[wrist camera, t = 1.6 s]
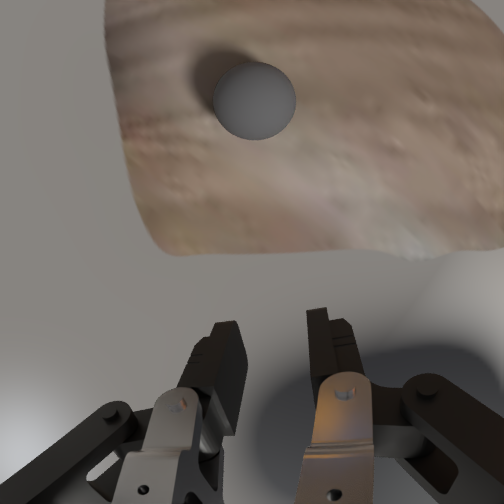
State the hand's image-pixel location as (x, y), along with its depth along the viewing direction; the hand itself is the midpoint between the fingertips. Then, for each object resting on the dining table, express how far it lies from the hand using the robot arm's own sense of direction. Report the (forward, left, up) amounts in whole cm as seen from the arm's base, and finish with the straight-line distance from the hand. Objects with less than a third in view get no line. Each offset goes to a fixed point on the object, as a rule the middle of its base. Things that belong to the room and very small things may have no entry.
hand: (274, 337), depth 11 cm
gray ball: (-10, 0, -14) cm, 17 cm away
